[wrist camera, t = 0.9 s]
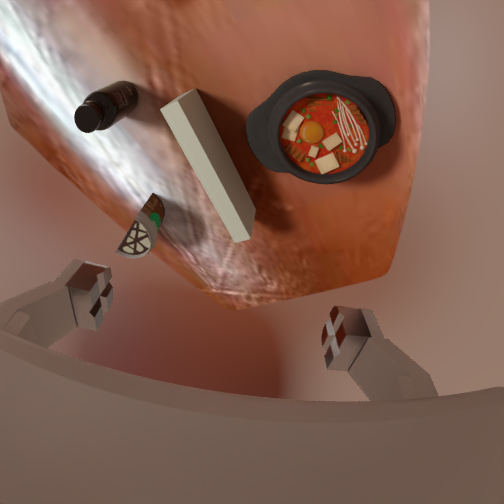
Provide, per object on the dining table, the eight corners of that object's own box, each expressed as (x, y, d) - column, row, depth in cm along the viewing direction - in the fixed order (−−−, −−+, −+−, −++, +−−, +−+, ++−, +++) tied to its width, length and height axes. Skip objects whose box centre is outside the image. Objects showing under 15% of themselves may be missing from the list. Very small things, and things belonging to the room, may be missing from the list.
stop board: (195, 88, 43) (177, 100, 37) (256, 209, 59) (250, 238, 52) (180, 95, 44) (160, 109, 38) (242, 213, 60) (234, 242, 53)
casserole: (376, 52, 36) (392, 57, 29) (401, 153, 46) (417, 175, 40) (229, 96, 44) (218, 109, 38) (271, 187, 55) (268, 213, 49)
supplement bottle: (110, 77, 42) (71, 94, 33) (142, 84, 43) (107, 102, 34) (104, 110, 47) (67, 134, 38) (135, 118, 48) (101, 143, 39)
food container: (154, 238, 67) (138, 269, 59) (132, 224, 65) (114, 253, 57) (180, 204, 60) (164, 235, 52) (156, 187, 58) (136, 216, 50)
